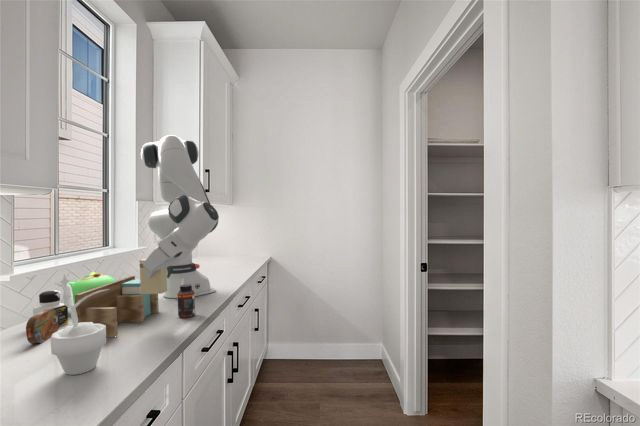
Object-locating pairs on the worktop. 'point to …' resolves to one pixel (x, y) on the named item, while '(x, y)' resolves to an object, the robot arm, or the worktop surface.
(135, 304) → the pantry shelf
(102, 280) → the toy bird
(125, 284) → the teal tall rectangular block
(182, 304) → the supplement bottle
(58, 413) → the worktop surface
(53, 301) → the medicine bottle
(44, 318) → the tin
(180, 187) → the robot arm
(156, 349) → the worktop surface
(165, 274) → the book box
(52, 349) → the potted plant
